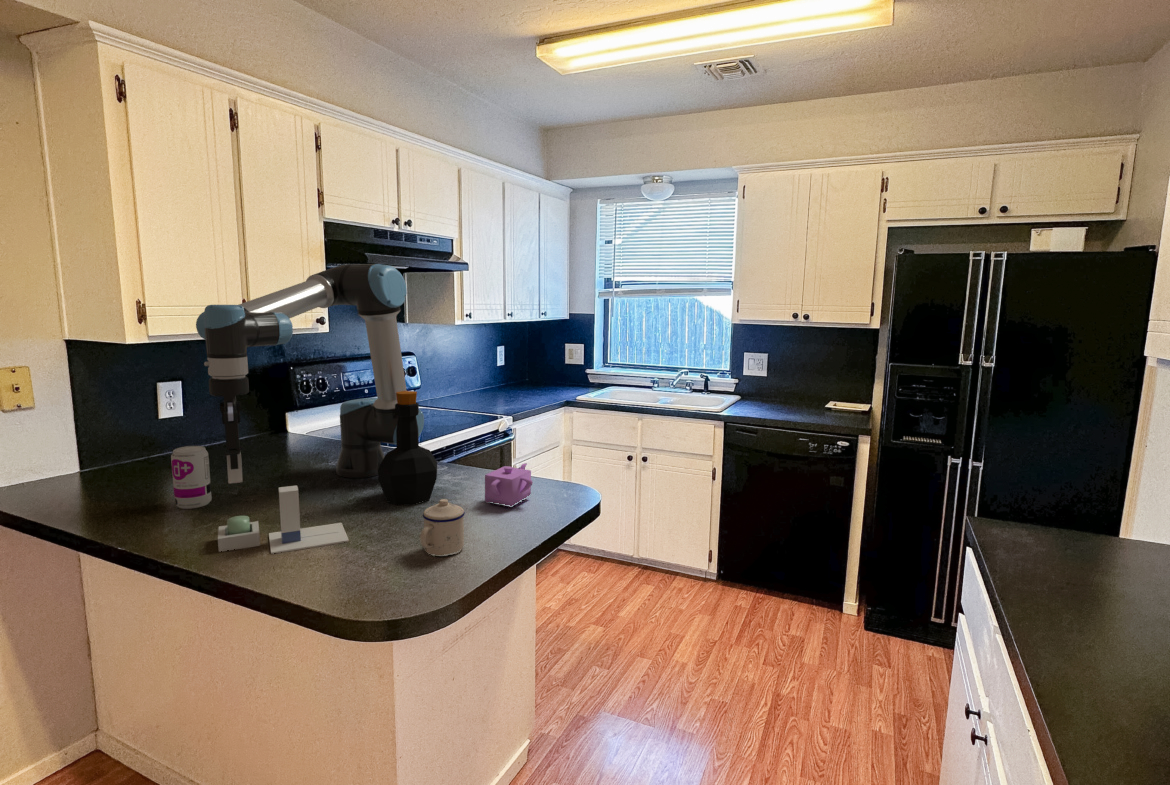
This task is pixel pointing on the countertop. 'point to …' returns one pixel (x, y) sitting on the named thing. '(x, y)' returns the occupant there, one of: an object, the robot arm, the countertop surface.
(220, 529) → the housing
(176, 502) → the supplement can
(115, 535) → the countertop surface
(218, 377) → the robot arm
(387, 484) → the bottle
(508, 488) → the teapot
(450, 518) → the teacup with lid
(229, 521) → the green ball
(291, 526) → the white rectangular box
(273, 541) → the slotted base plate
